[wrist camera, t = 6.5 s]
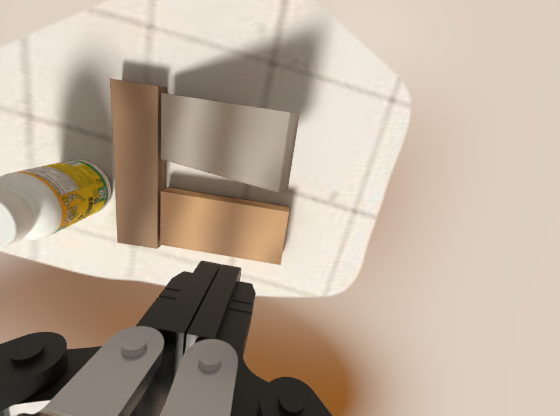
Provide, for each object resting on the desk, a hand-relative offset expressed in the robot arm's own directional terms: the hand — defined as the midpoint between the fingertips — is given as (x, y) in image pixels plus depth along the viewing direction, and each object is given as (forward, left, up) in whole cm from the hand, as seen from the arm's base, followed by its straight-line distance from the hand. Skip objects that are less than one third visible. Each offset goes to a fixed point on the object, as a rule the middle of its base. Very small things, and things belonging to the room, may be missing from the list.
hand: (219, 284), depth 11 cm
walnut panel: (-12, -1, -17) cm, 21 cm away
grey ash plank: (-3, +4, -14) cm, 15 cm away
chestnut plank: (-3, -5, -17) cm, 18 cm away
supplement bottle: (-18, -3, -17) cm, 25 cm away
